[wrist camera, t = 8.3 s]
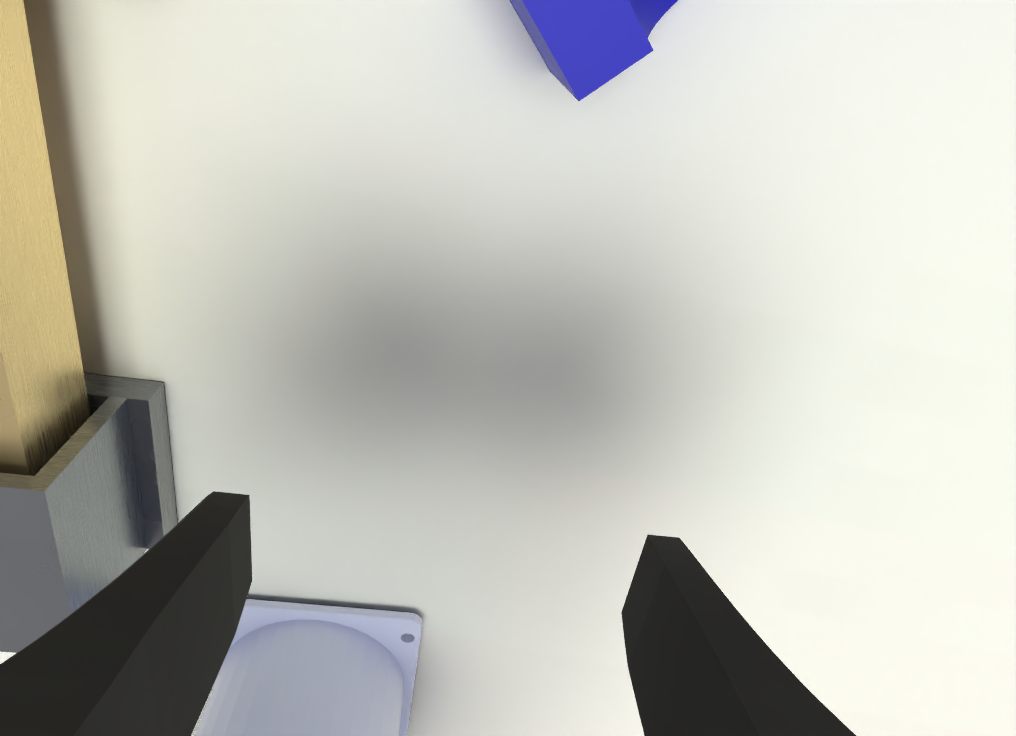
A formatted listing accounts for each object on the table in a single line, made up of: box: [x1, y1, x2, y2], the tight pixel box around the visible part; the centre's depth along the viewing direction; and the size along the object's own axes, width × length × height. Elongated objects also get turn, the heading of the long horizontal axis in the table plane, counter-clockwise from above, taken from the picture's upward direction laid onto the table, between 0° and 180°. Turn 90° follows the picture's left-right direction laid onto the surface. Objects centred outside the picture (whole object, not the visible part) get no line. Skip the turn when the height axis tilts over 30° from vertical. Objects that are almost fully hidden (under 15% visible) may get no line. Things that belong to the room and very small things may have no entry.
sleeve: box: [0, 373, 178, 653], centre depth 20 cm, size 6×6×5 cm
